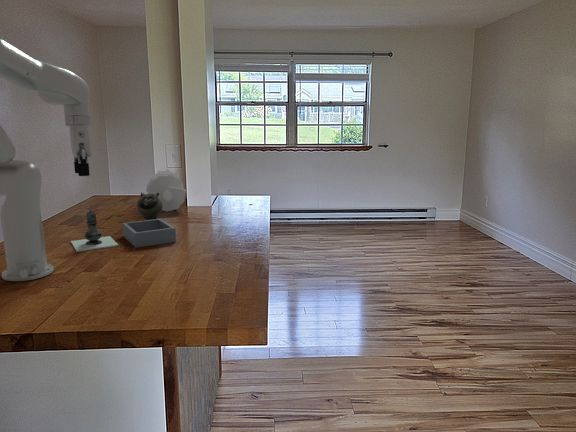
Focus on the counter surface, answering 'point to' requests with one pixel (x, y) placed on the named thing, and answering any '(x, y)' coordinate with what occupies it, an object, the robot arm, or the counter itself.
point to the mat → (81, 245)
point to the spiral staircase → (167, 189)
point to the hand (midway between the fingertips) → (82, 174)
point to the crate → (149, 232)
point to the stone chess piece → (92, 229)
